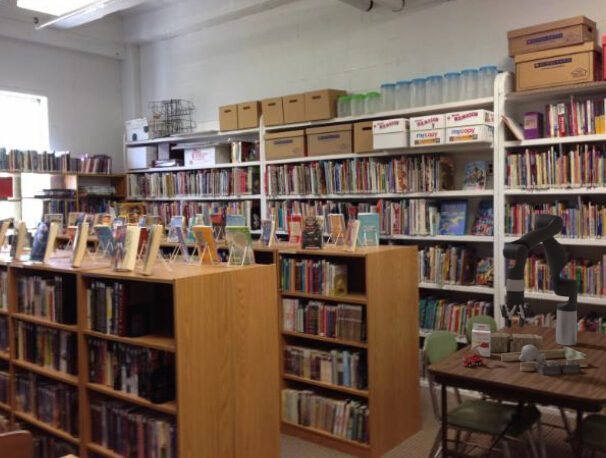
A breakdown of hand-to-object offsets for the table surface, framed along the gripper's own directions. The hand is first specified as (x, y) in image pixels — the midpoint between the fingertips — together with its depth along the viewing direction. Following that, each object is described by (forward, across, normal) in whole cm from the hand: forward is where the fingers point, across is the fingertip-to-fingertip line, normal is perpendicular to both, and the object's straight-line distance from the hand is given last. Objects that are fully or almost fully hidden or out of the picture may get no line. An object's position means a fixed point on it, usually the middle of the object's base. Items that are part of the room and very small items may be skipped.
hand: (515, 326), depth 262 cm
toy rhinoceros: (+18, -9, 0) cm, 20 cm away
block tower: (+18, -12, -25) cm, 33 cm away
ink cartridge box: (+18, +6, -20) cm, 27 cm away
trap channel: (+17, -14, +4) cm, 23 cm away
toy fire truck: (+18, +16, -6) cm, 25 cm away
